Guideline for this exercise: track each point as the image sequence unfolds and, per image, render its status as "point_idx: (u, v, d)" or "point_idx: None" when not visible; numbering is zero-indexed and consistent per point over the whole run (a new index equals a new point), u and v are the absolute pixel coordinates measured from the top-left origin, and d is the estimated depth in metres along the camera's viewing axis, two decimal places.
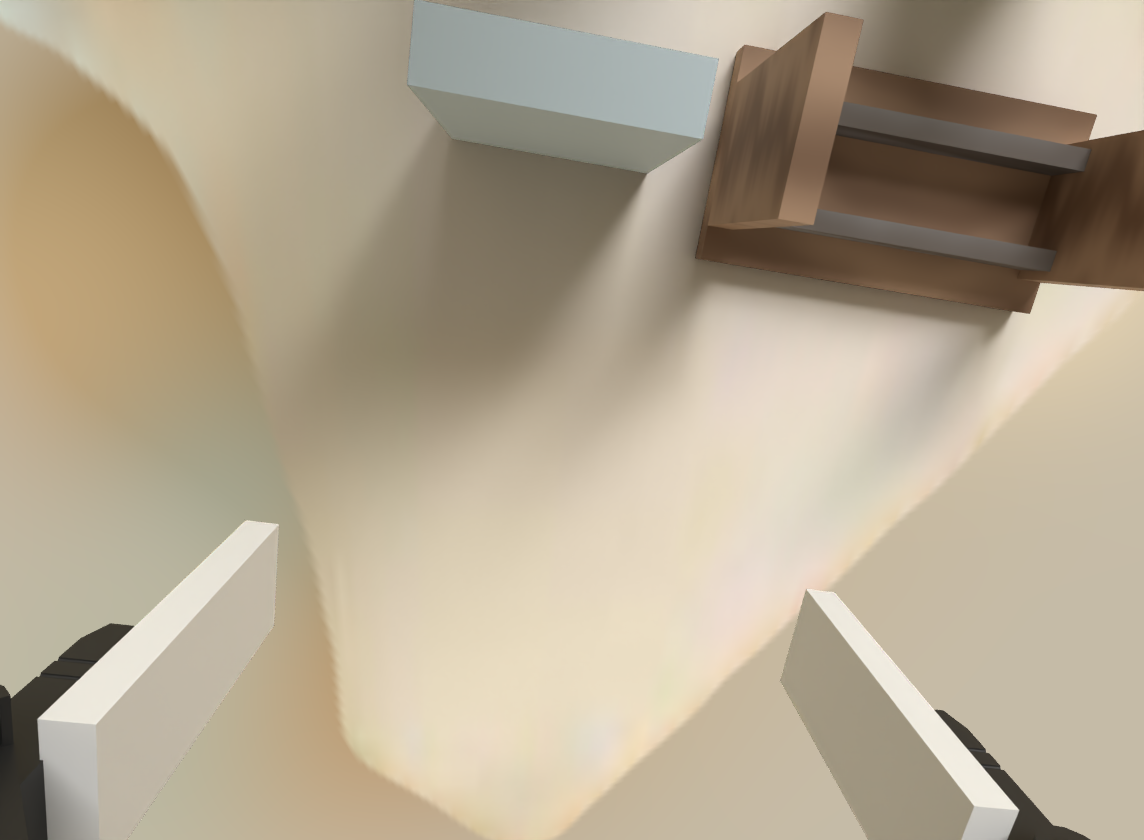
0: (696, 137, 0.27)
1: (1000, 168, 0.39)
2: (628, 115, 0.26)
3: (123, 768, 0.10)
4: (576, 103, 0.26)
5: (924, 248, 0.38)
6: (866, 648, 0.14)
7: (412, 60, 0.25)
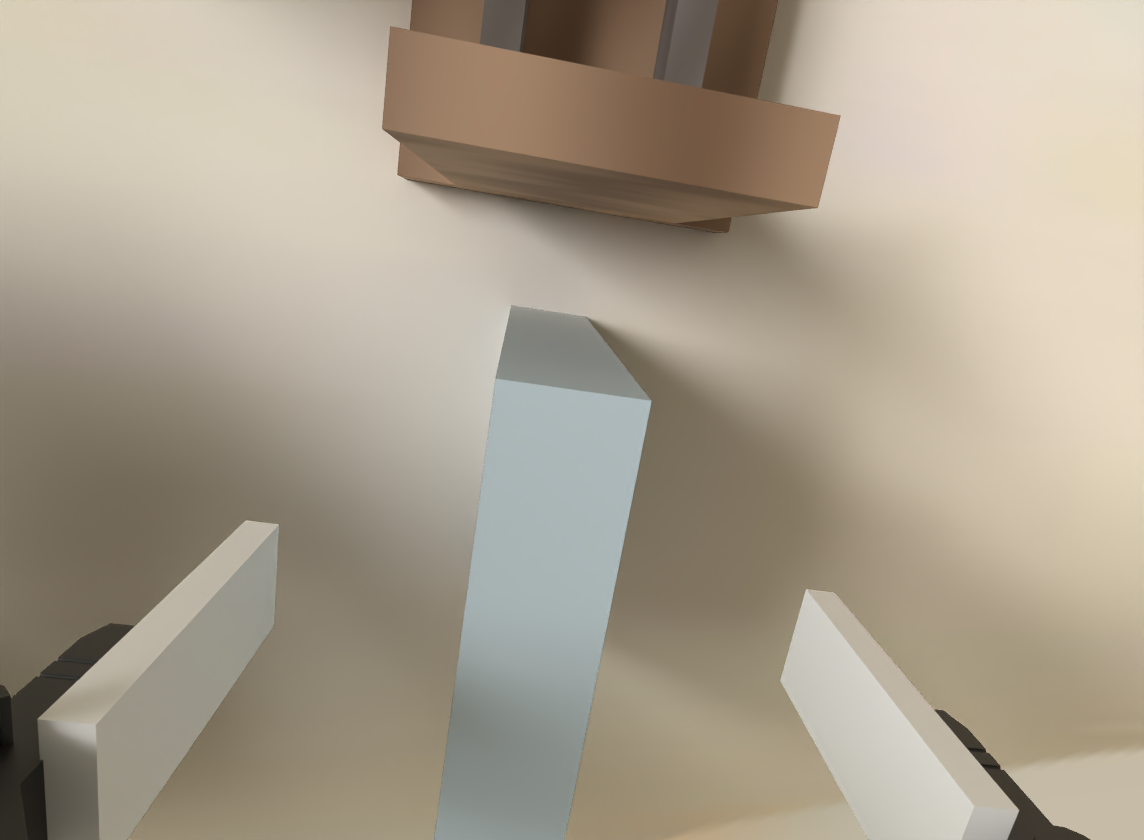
0: (647, 414, 0.13)
1: None
2: (604, 548, 0.13)
3: (123, 768, 0.10)
4: (582, 639, 0.14)
5: None
6: (866, 648, 0.14)
7: None
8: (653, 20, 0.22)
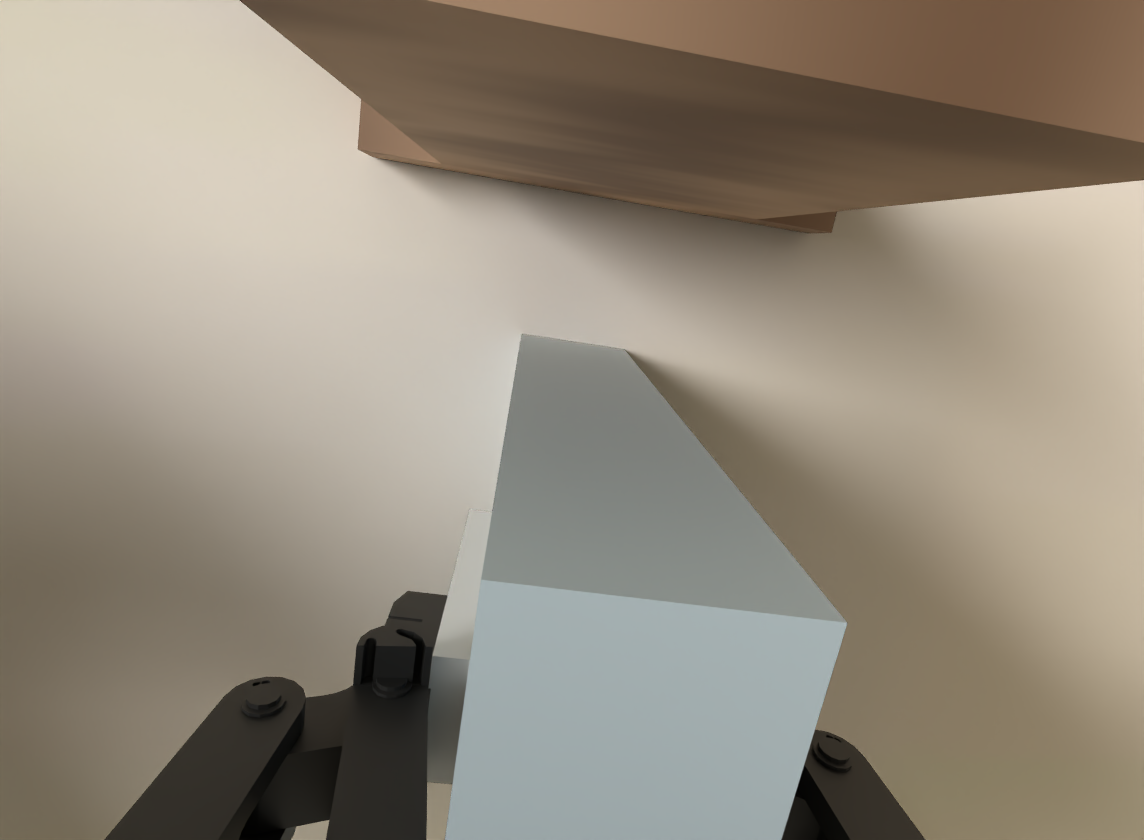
0: (834, 649, 0.05)
1: None
2: None
3: None
4: None
5: None
6: None
7: None
8: None
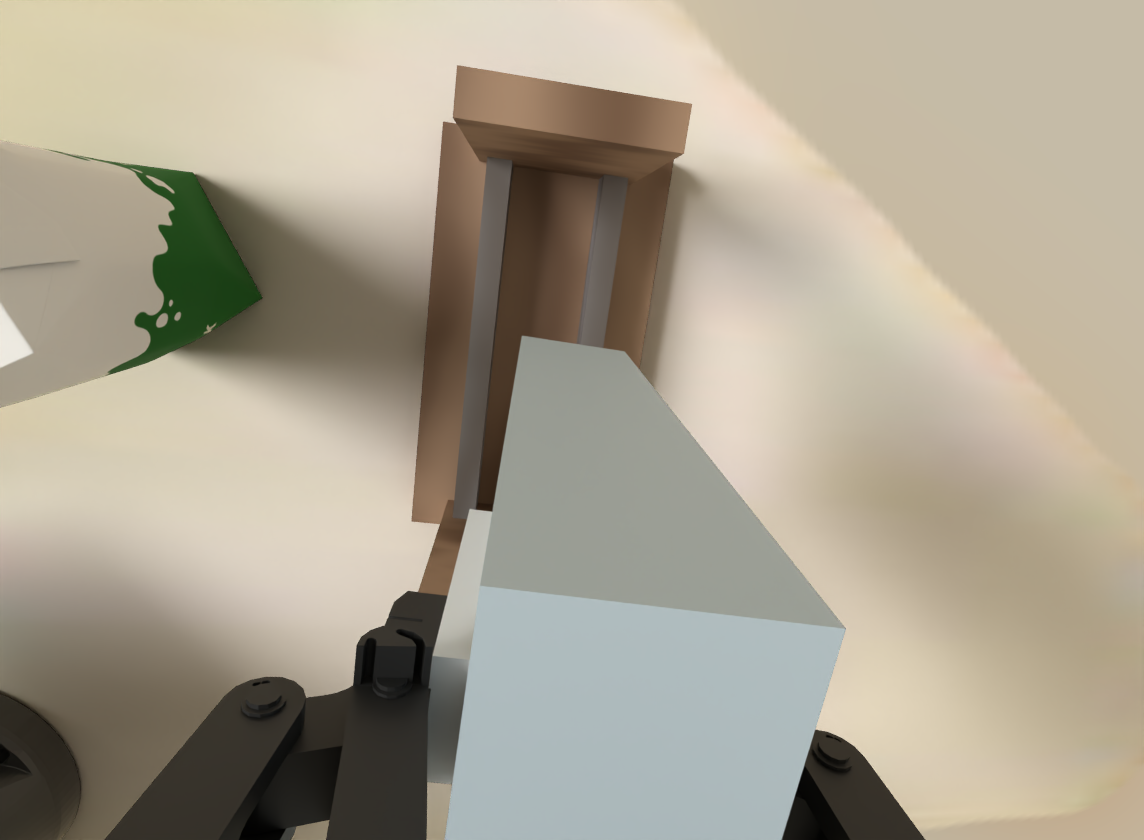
0: (833, 655, 0.05)
1: (508, 233, 0.34)
2: None
3: None
4: None
5: (602, 340, 0.34)
6: None
7: None
8: None
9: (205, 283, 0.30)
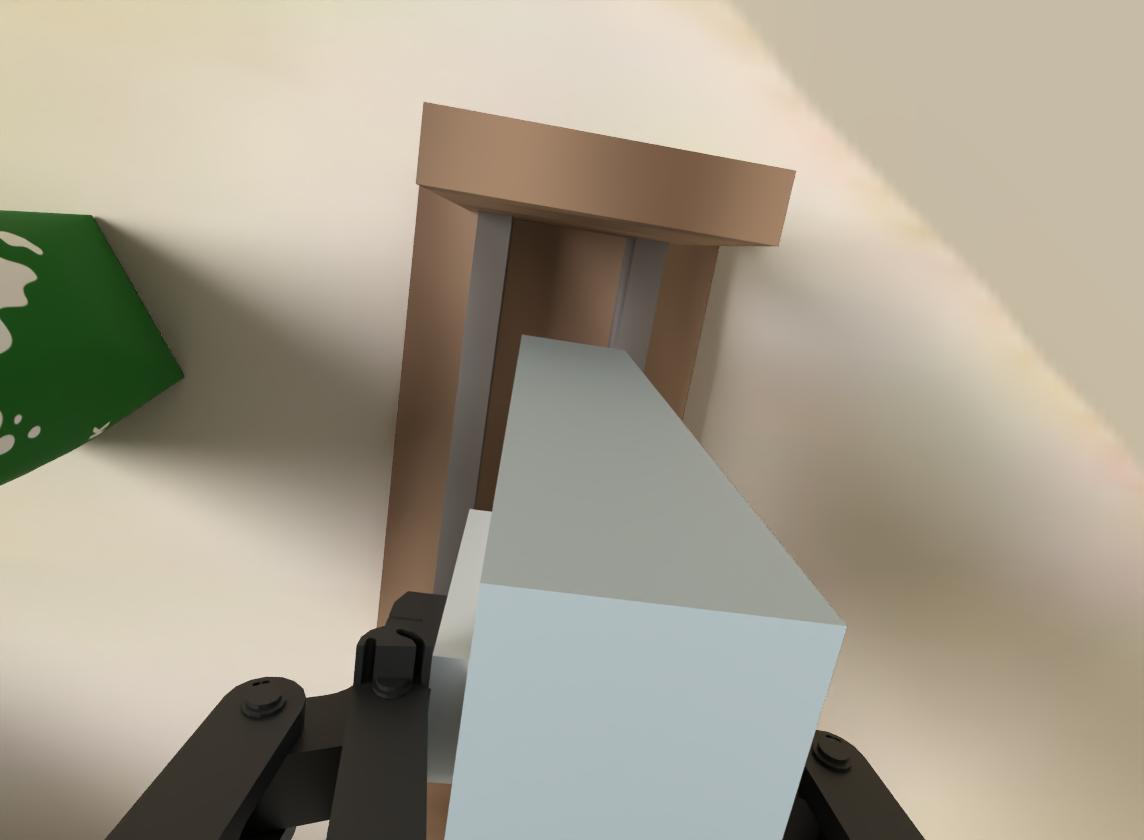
0: (834, 653, 0.05)
1: (506, 304, 0.26)
2: None
3: None
4: None
5: None
6: None
7: None
8: None
9: (84, 378, 0.22)
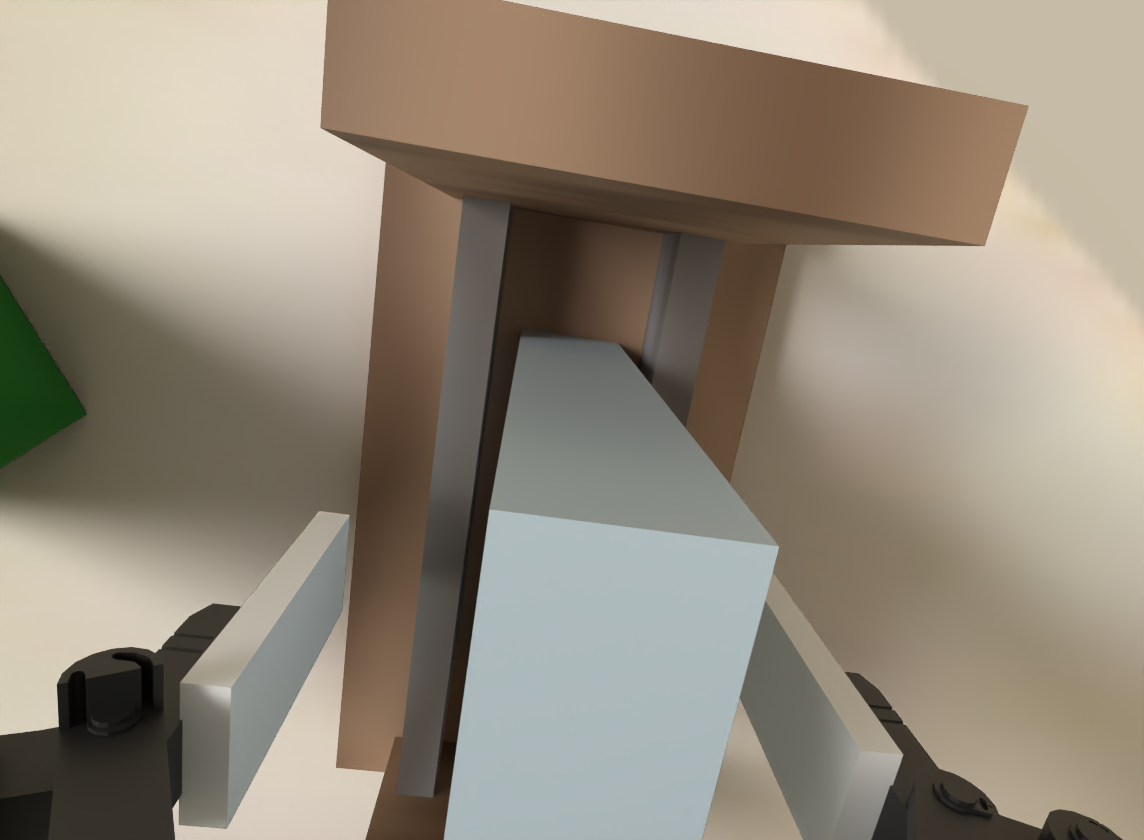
0: (770, 568, 0.07)
1: (503, 322, 0.20)
2: (682, 792, 0.07)
3: (245, 730, 0.11)
4: None
5: None
6: (789, 616, 0.15)
7: None
8: None
9: None
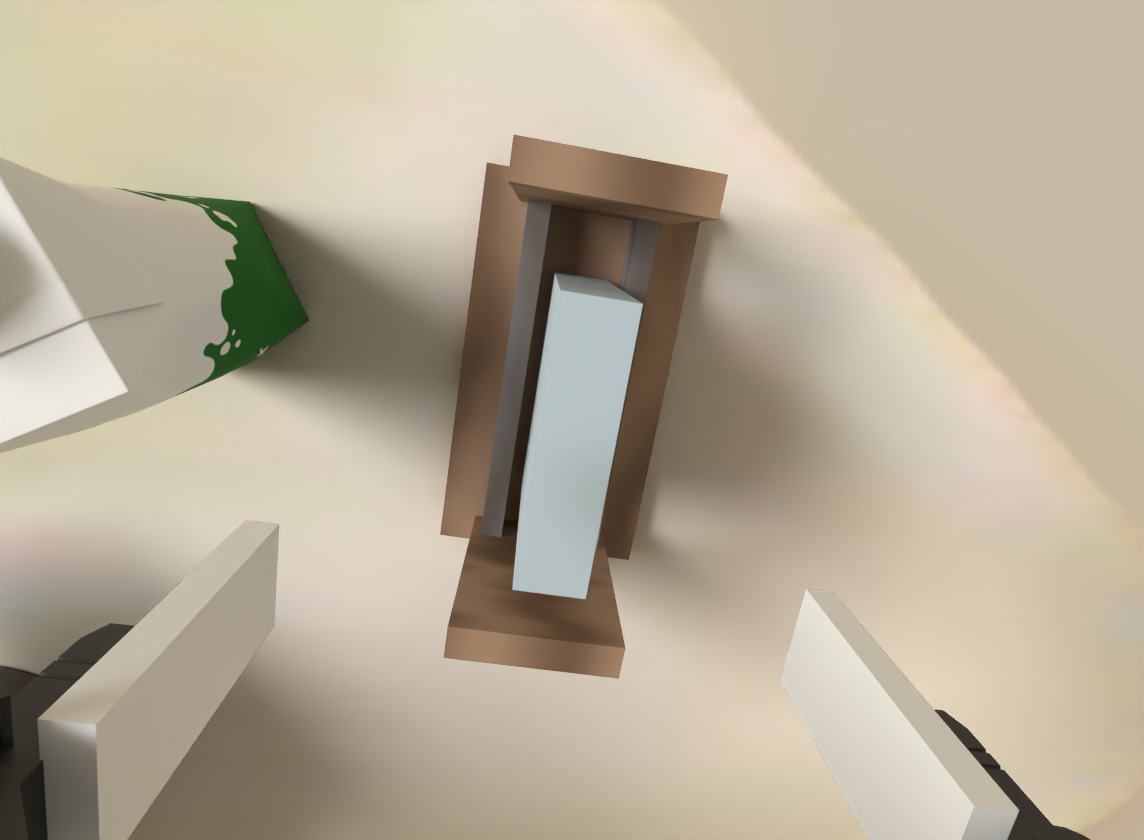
0: (640, 311, 0.23)
1: (544, 268, 0.36)
2: (616, 388, 0.24)
3: (123, 768, 0.10)
4: (603, 442, 0.25)
5: None
6: (866, 648, 0.14)
7: (564, 593, 0.26)
8: None
9: (262, 311, 0.32)
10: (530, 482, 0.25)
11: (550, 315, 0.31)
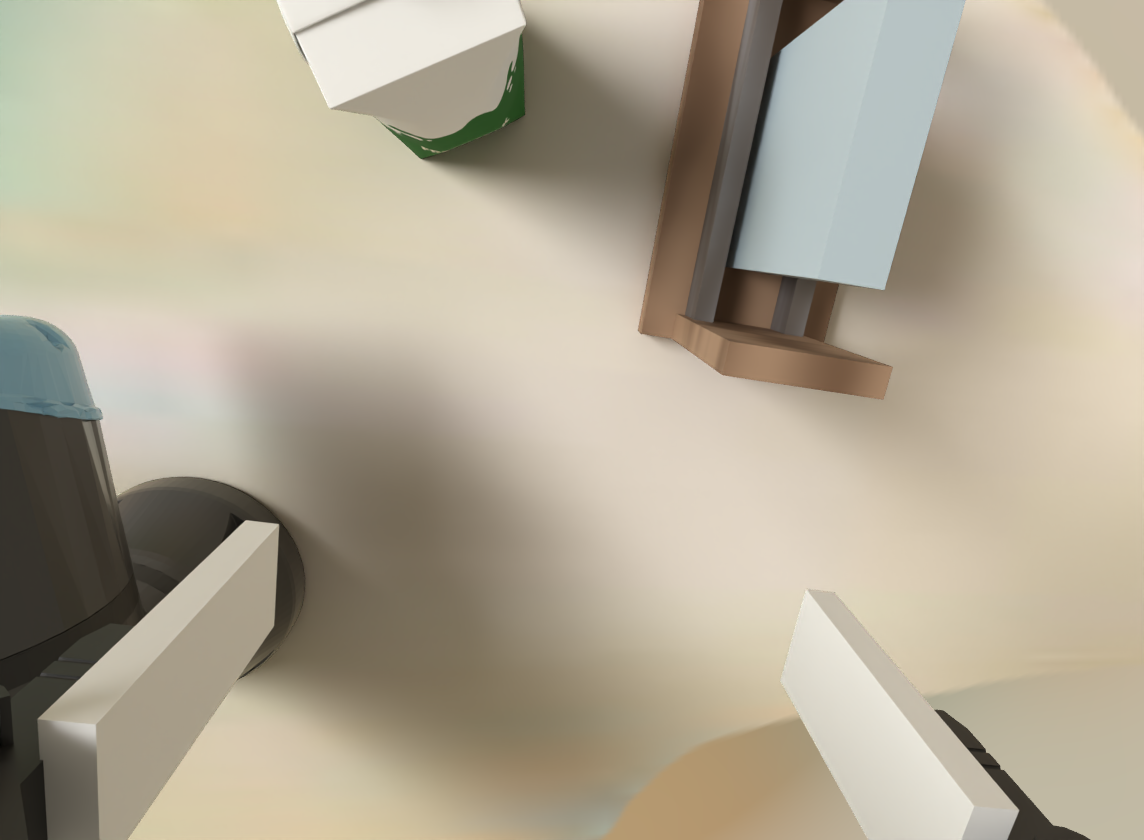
0: None
1: None
2: (938, 62, 0.25)
3: (123, 768, 0.10)
4: (920, 120, 0.26)
5: None
6: (866, 648, 0.14)
7: (865, 283, 0.28)
8: None
9: (520, 70, 0.33)
10: (847, 163, 0.26)
11: (805, 63, 0.32)
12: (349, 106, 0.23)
